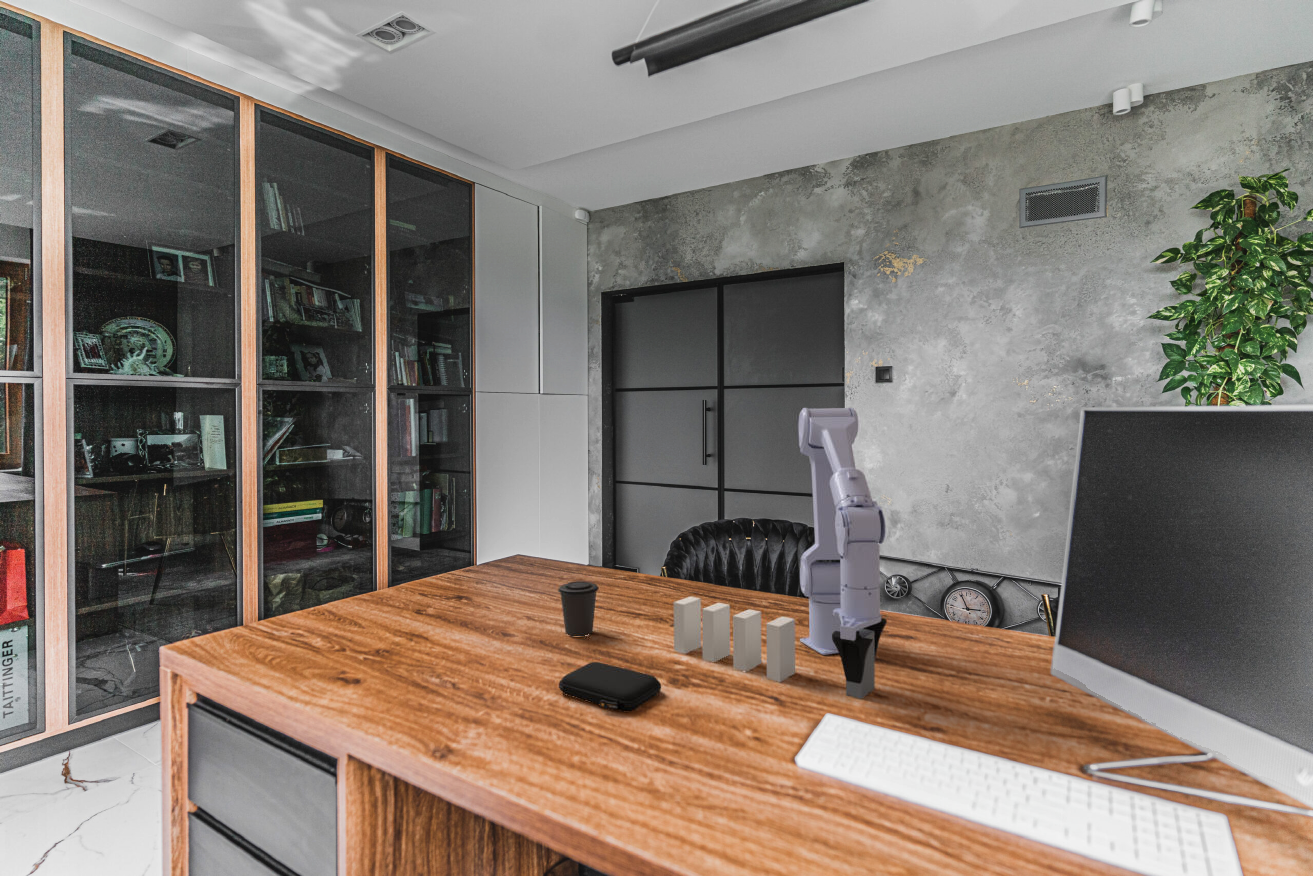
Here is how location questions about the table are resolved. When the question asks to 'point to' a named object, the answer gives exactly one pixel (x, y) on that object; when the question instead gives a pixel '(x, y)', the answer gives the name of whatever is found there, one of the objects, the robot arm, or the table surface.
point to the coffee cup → (578, 607)
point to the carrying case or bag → (610, 686)
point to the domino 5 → (869, 671)
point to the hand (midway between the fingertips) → (860, 672)
